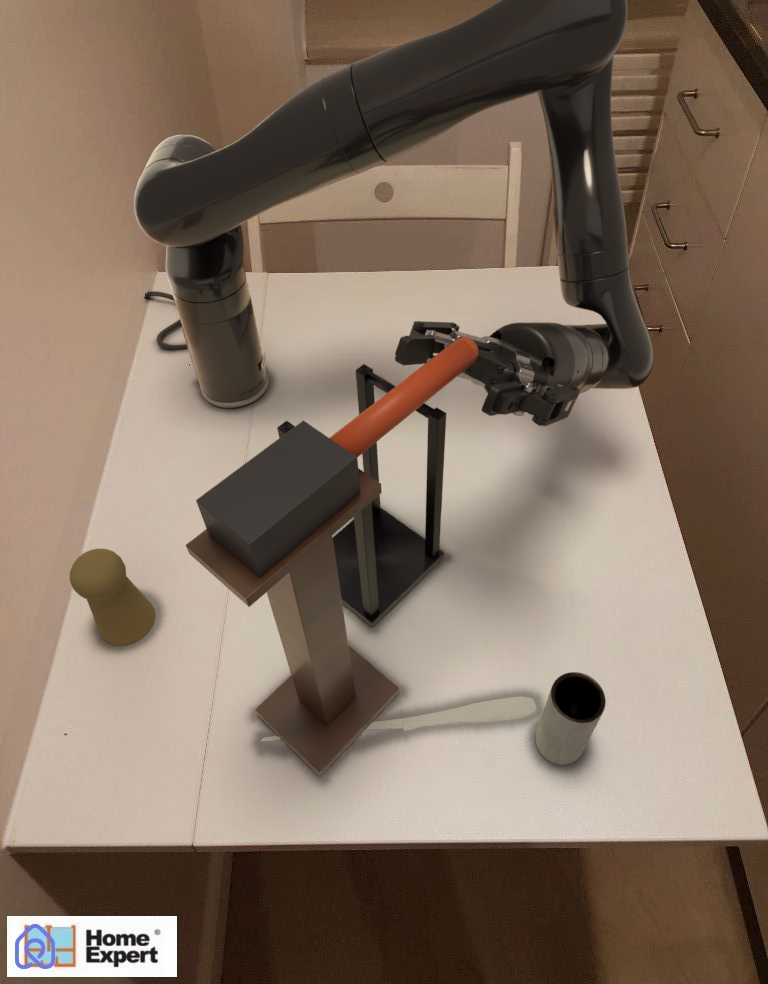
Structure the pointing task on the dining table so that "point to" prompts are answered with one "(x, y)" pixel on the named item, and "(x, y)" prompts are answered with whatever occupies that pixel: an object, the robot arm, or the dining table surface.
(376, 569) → the black rack
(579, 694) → the planter
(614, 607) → the dining table surface
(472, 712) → the butter knife
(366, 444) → the orange-handled mallet
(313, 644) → the wooden pedestal stand
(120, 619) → the olive pawn
